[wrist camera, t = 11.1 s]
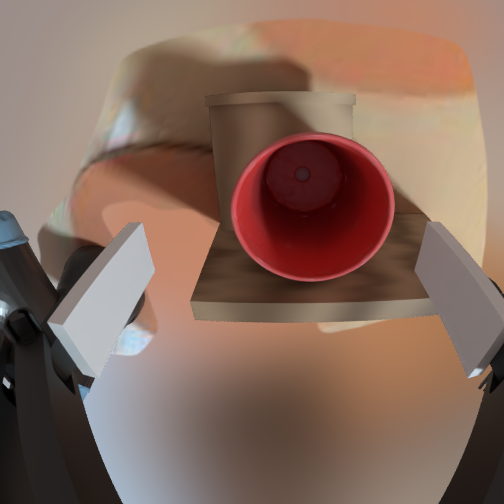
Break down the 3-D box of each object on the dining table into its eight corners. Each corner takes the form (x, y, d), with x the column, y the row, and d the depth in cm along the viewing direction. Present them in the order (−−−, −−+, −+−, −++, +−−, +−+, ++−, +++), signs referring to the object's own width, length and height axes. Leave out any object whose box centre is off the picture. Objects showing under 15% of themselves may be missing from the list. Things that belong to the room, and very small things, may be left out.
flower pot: (251, 110, 23) (237, 120, 15) (368, 131, 23) (413, 156, 15) (240, 215, 29) (224, 271, 20) (344, 230, 29) (367, 289, 20)
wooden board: (226, 226, 35) (194, 319, 22) (224, 211, 34) (190, 301, 21) (422, 227, 33) (481, 309, 19) (425, 214, 32) (489, 292, 18)
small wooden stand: (228, 211, 34) (219, 235, 29) (218, 95, 27) (205, 95, 22) (336, 211, 33) (347, 235, 28) (340, 93, 25) (355, 94, 20)
